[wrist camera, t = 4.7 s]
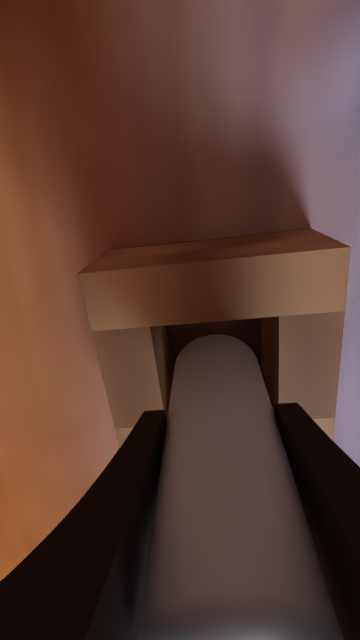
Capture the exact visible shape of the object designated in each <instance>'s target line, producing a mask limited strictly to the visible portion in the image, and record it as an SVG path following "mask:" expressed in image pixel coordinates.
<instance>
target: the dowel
mask: <svg viewBox="0 0 360 640" xmlns="http://www.w3.org/2000/svg"><path fill="white" fill-rule="evenodd" d="M137 640H344V638H343V635H342V632H341V629H340V625H339V622H338V619H337V616H336V613H335V609H334V606H333V603H332V600H331V596H330V593H329V590H328V587H327V583H326V580H325V577H324V574H323V570H322V567H321V564H320V561H319V558H318V554H317V551H316V548H315V545H314V541H313V538H312V535H311V532H310V528H309V525H308V522H307V519H306V515H305V512H304V509H303V506H302V503H301V499H300V496H299V493H298V490H297V486H296V483H295V480H294V477H293V473H292V470H291V467H290V464H289V460H288V457H287V454H286V451H285V448H284V444H283V441H282V438H281V435H280V431H279V428H278V425H277V422H276V418H275V415H274V412H273V409H272V406H271V402H270V399H269V396H268V393H267V389H266V386H265V383H264V380H263V376H262V373H261V370H260V367H259V363H258V360H257V358H256V356H255V354H254V352H253V351H252V349H251V348H250V347H249V346H248V345H247V344H245V343H244V342H242V341H241V340H239V339H237V338H235V337H232V336H228V335H222V334H212V335H206V336H203V337H200V338H197V339H195V340H193V341H192V342H190V343H189V344H187V345H186V346H185V347H184V348H183V349H182V351H181V352H180V353H179V355H178V357H177V359H176V362H175V367H174V375H173V382H172V389H171V396H170V404H169V411H168V418H167V425H166V432H165V440H164V447H163V454H162V461H161V469H160V476H159V483H158V490H157V498H156V505H155V512H154V519H153V527H152V534H151V541H150V548H149V555H148V563H147V570H146V577H145V584H144V592H143V599H142V606H141V613H140V621H139V628H138V635H137Z"/></svg>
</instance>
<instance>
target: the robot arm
mask: <svg viewBox="0 0 360 640" xmlns="http://www.w3.org/2000/svg"><path fill="white" fill-rule="evenodd" d="M275 418H276V422H277V425H278V428H279V431H280V435H281V438H282V441H283V444H284V448H285V451H286V454H287V457H288V460H289V464H290V467H291V470H292V473H293V477H294V480H295V483H296V486H297V490H298V493H299V496H300V499H301V503H302V506H303V509H304V512H305V515H306V519H307V522H308V525H309V528H310V532H311V535H312V538H313V541H314V545H315V548H316V551H317V554H318V558H319V561H320V564H321V567H322V570H323V574H324V577H325V580H326V583H327V587H328V590H329V593H330V596H331V600H332V603H333V606H334V609H335V613H336V616H337V619H338V622H339V625H340V629H341V632H342V635H343V638H344V640H360V467H359V466H358V465H357V464H356V463H355V462H354V461H353V460H352V459H351V458H350V457H349V456H348V455H347V454H346V453H345V452H344V451H343V450H342V449H340V448H339V447H338V446H337V445H336V444H335V443H334V441H333V440H332V439H331V438H330V437H329V436H328V435H327V434H326V433H325V432H324V431H323V430H322V429H321V428H320V427H319V426H318V425H317V423H316V422H315V421H314V420H313V419H312V418H311V417H310V416H309V415H308V413H307V412H306V411H305V410H304V409H303V408H302V407H301V406H300V405H299V404H298V403H297V402H296V403H278V404H275ZM166 425H167V420H166V414H165V410H151V411H144V412H143V413H142V415H141V416H140V418H139V419H138V421H137V423H136V424H135V426H134V427H133V429H132V430H131V432H130V434H129V435H128V437H127V438H126V440H125V441H124V443H123V444H122V446H121V447H120V448H119V450H118V451H117V453H116V454H115V455H114V457H113V458H112V460H111V461H110V462H109V464H108V465H107V467H106V468H105V469H104V471H103V472H102V473H101V474H100V476H99V477H98V478H97V479H96V481H95V482H94V483H93V484H92V486H91V487H90V488H89V490H88V491H87V492H86V493H85V495H84V496H83V497H82V498H81V499H80V501H79V502H78V503H77V504H76V505H75V506H74V508H73V509H72V510H71V511H70V512H69V513H68V514H67V515H66V517H65V518H64V519H63V520H62V521H61V522H60V523H59V524H58V525H57V526H56V527H55V529H54V530H53V531H52V532H51V533H50V534H49V535H48V536H47V537H46V538H45V539H44V540H43V541H42V542H41V543H40V544H39V545H38V546H37V547H36V548H35V549H34V550H33V551H32V552H31V553H30V554H29V555H28V556H27V557H26V558H25V559H24V560H23V561H22V562H21V563H20V564H19V565H18V566H17V567H16V568H15V569H14V570H12V571H11V572H10V573H9V574H8V575H7V576H6V577H5V578H4V579H3V580H1V581H0V640H137V635H138V628H139V621H140V613H141V606H142V599H143V592H144V584H145V577H146V570H147V563H148V555H149V548H150V541H151V534H152V527H153V519H154V512H155V505H156V498H157V490H158V483H159V476H160V469H161V461H162V454H163V447H164V440H165V432H166Z"/></svg>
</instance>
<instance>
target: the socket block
mask: <svg viewBox="0 0 360 640" xmlns="http://www.w3.org/2000/svg"><path fill="white" fill-rule="evenodd" d="M350 248H351V247H350V246H348V245H345V244H343V243H341V242H339V241H337V240H335V239H333V238H330V237H328V236H326V235H324V234H322V233H320V232H318V231H315V230H313V229H304V230H294V231H285V232H275V233H266V234H256V235H247V236H237V237H228V238H218V239H209V240H199V241H190V242H180V243H171V244H161V245H152V246H142V247H133V248H123V249H113V250H107V251H106V252H105V253H103V254H102V255H101V256H100V257H98V258H97V259H96V260H94V261H93V262H92V263H91V264H89V265H88V266H87V267H86V268H84V269H83V270H82V271H80V272H79V273H78V278H79V282H80V287H81V291H82V295H83V299H84V303H85V307H86V311H87V315H88V319H89V323H90V327H91V332H92V336H93V340H94V344H95V348H96V352H97V356H98V360H99V364H100V368H101V372H102V377H103V381H104V385H105V389H106V393H107V397H108V401H109V405H110V409H111V413H112V418H113V422H114V426H115V430H116V434H117V438H118V442H119V446H120V447H121V446H122V444H123V443H124V441H125V440H126V438H127V437H128V435H129V434H130V432H131V430H132V429H133V427H134V426H135V424H136V423H137V421H138V419H139V418H140V416H141V415H142V413H143V412H144V411H151V410H165V414H166V420H167V418H168V411H169V404H170V396H171V389H172V382H173V375H174V373H173V366H172V359H171V351H170V344H169V337H168V330H167V325H178V324H190V323H203V322H215V321H228V320H240V319H253V318H261V353H262V368H260V370H261V373H262V376H263V380H264V383H265V386H266V389H267V393H268V396H269V399H270V402H271V406H272V409H273V412H274V415H275V404H278V403H296V402H297V403H298V404H299V405H300V406H301V407H302V408H303V409H304V410H305V411H306V412H307V413H308V415H309V416H310V417H311V418H312V419H313V420H314V421H315V422H316V423H317V425H318V426H319V427H320V428H321V429H322V430H323V431H324V432H325V433H326V434H327V435H328V436H329V437H330V438H331V439H332V440H333V435H334V424H335V413H336V402H337V391H338V380H339V369H340V358H341V347H342V336H343V325H344V314H345V303H346V292H347V281H348V270H349V259H350Z"/></svg>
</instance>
